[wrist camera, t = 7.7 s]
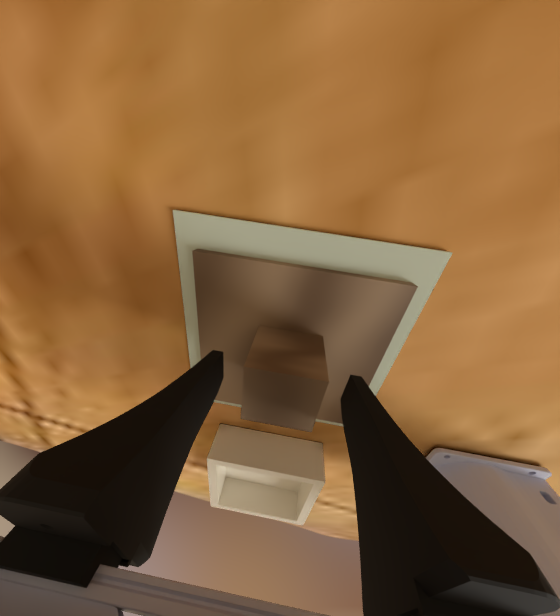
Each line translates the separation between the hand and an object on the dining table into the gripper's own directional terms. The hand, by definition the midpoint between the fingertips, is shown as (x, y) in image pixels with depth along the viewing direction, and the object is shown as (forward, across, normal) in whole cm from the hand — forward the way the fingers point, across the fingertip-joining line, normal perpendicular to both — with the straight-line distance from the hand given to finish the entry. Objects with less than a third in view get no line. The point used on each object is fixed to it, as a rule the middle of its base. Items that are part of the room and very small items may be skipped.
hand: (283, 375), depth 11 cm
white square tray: (+3, 0, +16) cm, 16 cm away
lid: (+3, 0, 0) cm, 3 cm away
